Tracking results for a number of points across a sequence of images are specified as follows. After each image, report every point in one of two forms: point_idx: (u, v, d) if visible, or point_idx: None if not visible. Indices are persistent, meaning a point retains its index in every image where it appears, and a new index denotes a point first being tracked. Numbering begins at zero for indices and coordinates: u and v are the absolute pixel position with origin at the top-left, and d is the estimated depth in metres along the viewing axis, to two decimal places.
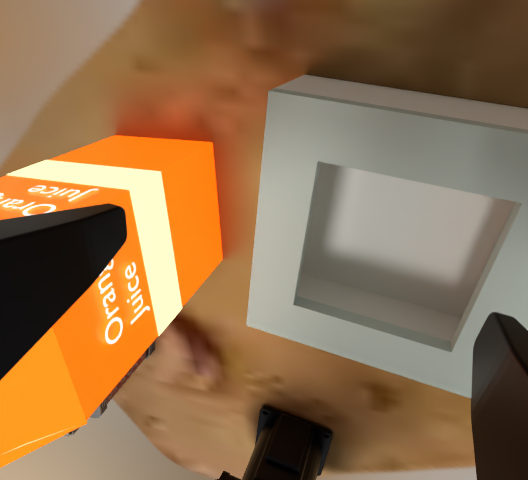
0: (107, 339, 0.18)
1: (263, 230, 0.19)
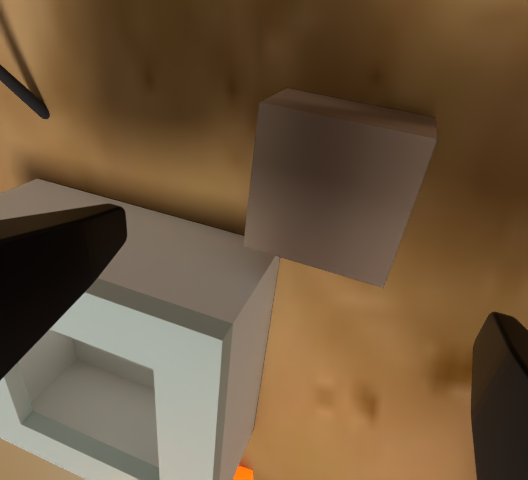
0: None
1: (92, 478, 0.20)
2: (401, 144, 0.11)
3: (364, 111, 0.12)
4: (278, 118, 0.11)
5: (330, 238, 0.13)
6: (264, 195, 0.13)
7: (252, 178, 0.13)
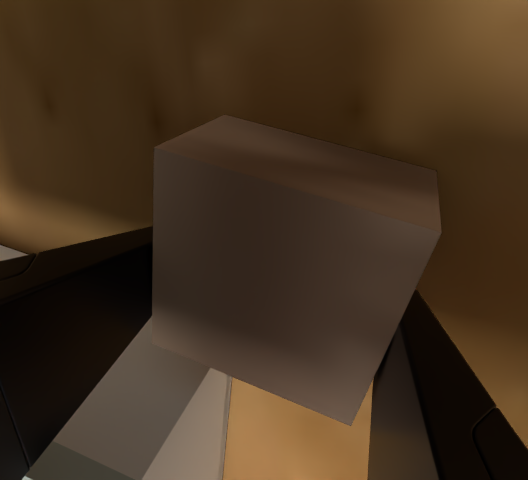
0: None
1: None
2: (379, 234, 0.06)
3: (327, 164, 0.08)
4: (185, 175, 0.07)
5: (271, 351, 0.08)
6: (173, 281, 0.08)
7: (156, 255, 0.08)
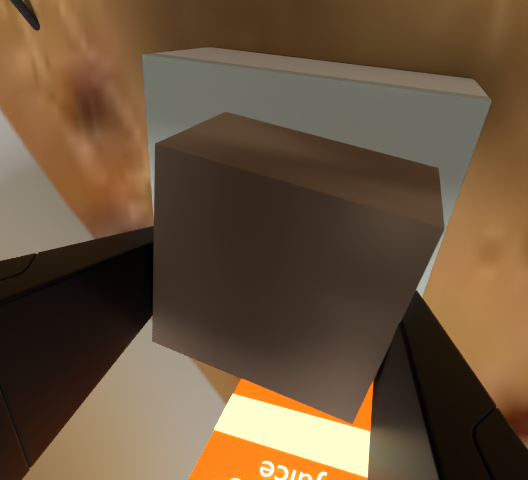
0: None
1: None
2: (382, 230, 0.06)
3: (329, 160, 0.08)
4: (186, 172, 0.07)
5: (272, 349, 0.08)
6: (174, 279, 0.08)
7: (157, 253, 0.08)
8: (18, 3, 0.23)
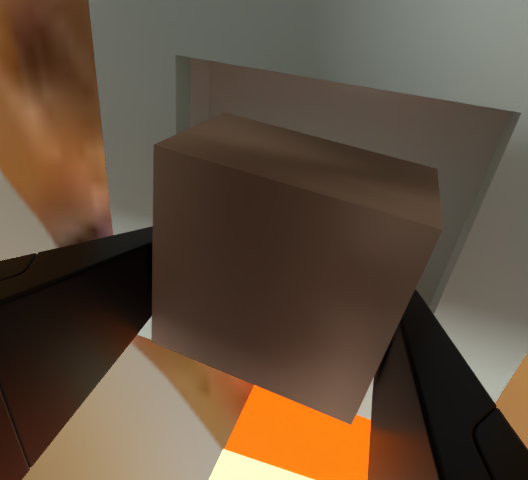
0: None
1: None
2: (380, 231, 0.06)
3: (328, 161, 0.08)
4: (184, 173, 0.07)
5: (271, 350, 0.08)
6: (173, 280, 0.08)
7: (155, 254, 0.08)
8: None
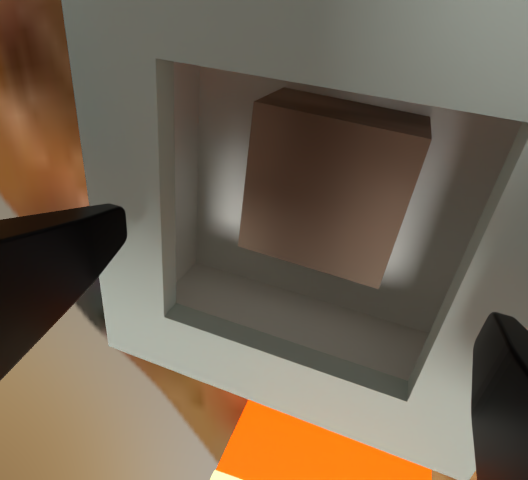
0: None
1: (268, 399, 0.13)
2: (395, 145, 0.11)
3: (359, 111, 0.12)
4: (272, 118, 0.11)
5: (324, 238, 0.13)
6: (258, 195, 0.13)
7: (246, 178, 0.13)
8: None
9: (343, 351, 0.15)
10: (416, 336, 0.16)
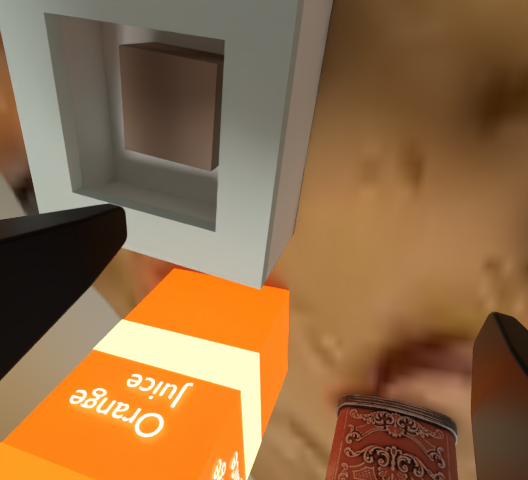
0: (144, 435, 0.17)
1: (142, 247, 0.20)
2: (199, 68, 0.17)
3: (191, 53, 0.19)
4: (131, 55, 0.18)
5: (173, 137, 0.19)
6: (131, 110, 0.20)
7: (123, 98, 0.20)
8: None
9: None
10: None
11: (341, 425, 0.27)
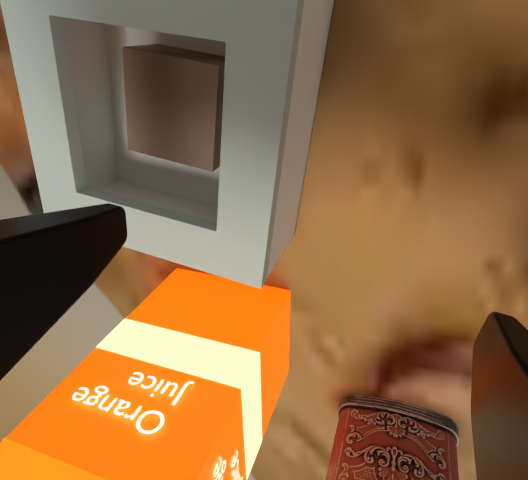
0: (145, 432, 0.17)
1: (145, 246, 0.20)
2: (201, 70, 0.18)
3: (193, 55, 0.19)
4: (134, 57, 0.18)
5: (176, 138, 0.20)
6: (134, 111, 0.20)
7: (126, 100, 0.20)
8: None
9: None
10: None
11: (342, 425, 0.27)
